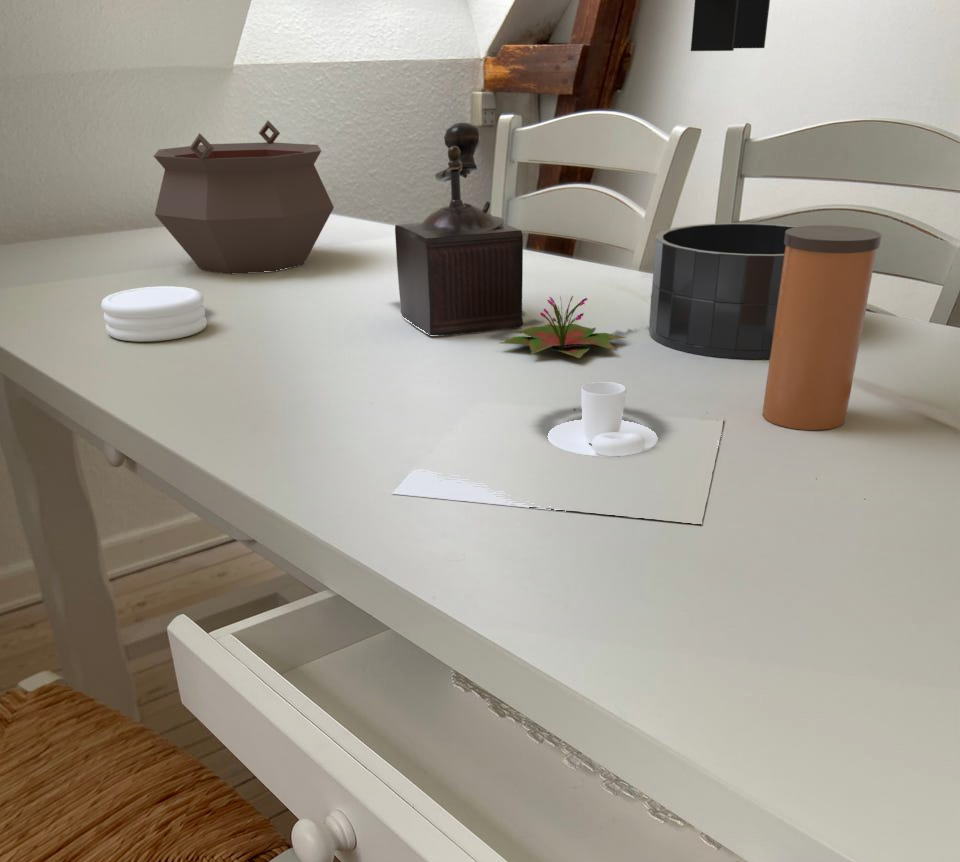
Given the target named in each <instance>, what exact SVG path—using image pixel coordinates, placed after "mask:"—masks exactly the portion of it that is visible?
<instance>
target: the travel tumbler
mask: <svg viewBox="0 0 960 862" xmlns="http://www.w3.org/2000/svg"><path fill="white" fill-rule="evenodd" d="M881 240H882V233H880V232H879V231H877V230H873V229H868V228H863V227H857V226H845V225H828V224H827V225H824V224H823V225H822V224H821V225H801V226H800V227H795V228H790V229H788V230H786V232H785V237H784V244H785V245H786V246H785V253H784V260H783V267H782V275H781V282H780V289H779V296H778V304H777V311H776V318H775V325H774V332H773V340H772V347H771V354H770V359H769V361H768V369H767V377H766V384H765V385H766V386H765V390H764V392H765V393H764V399H763V406H762V417H763V418H764V419H765V420H766V421H768V422H769V423H771V424H773V425H776V426H779V427H782V428H787V429H793V430H802V431H825V430H831V429H832V430H833V429H836V428H838V427H841V426H842V425H844V424H845V422H846V418H847V413H848V409H849V403H850V397H851V393H852V387H853V380H854V375H855V371H856V364H857V359H858V353H859V348H860V343H861V338H862V332H863V326H864V320H865V315H866V310H867V305H868V300H869V299H868V298H869V293H870V288H871V283H872V278H873V277H872V276H873V272H874V266H875V262H876V261H875V260H876V254H877V251H878V249H879V248H880V245H881V242H882V241H881Z"/></svg>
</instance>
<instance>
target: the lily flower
mask: <svg viewBox="0 0 960 862" xmlns="http://www.w3.org/2000/svg"><path fill="white" fill-rule="evenodd" d="M573 297H574V295H572V296H571V297H570V299H569V302H568V305H567V308H566V311H565V314H564V317H563V316H562V313H560V312H561V311H560V309H563V303H562V296H561V295H559V299H560V304H561V305H560V306H561V308H560V307H559V305H558V306H557V304H556V301H555V300H554V299H553V298H552V296H549V297H548V298H549V299H546V302H547V303H548V304H549V305H550V306H551V307H552V308H553V311H554V314H555V317H556V318H555V317H552V316H551V314H550V313H549V311H548V310H547V309H546V308H543V312H540V313H539V315H540V316H541V317H543V318H544V319H546V320H547V321H548V322H549V323H548V324H545V325H541V326H531V327H527V328H524V329H521V330H518V331H514V332H511V333H512V334H523V335H524V336H523V335H521V336H519V335H518V336H512V337H510V338H507V339H506V340H504V341H500V344H504V345H505V344H506V345H507V344H509V345H523V346H529V349H530V354H529V356H532V355H534V354H536V353H539V352H541V351H543V350H546V349H549V348H551V350H553V351H556V352H561V353H564V354H567V355H568V356H569V355H570V356H573V357H575V358H577V359H580V358H581V357H582V356H583V355H584V354H586V353H587V352H588V351H589V350H590V347H589V346H586V345H594V346H598V347H600V348H601V347H602V348H605V349H609V350H612V351H618V350H617V349H616V348H615V347H614V346H613V344H611V342H610V341H612V340H619V339H626V338H627V336H621V335H615V334H612V333H608V332H595V331H596V329H597V327H592V328H590V327H586V326H582V325H579V324H576V323H574V322H576V321H580V320H582V317H583V316H584V312H582V313H580V314H578V315H576V317H575V318H573V319H572V317H573V315H574V313H575V311H576V310H577V309H578V307H582V306H583V305H585V302H586V301H588V297H586V298H583V299H581V301H580V302H579V303H577V304H576V305H575V306H574V307H573V308H572V309H571V311H569V309H570V306H571V305H570V304H571V303H572V301H573ZM547 315H548V317H549V318H548V317H547ZM555 322H556V323H557V324H556V323H555ZM525 335H526V336H525Z"/></svg>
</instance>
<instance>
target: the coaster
mask: <svg viewBox="0 0 960 862" xmlns="http://www.w3.org/2000/svg"><path fill="white" fill-rule="evenodd" d="M204 301H205V300H204V296H203V294H202V293H201V292H200V291H198V290H197V289H195V288H190V287H184V286H174V285H173V286H169V285H167V286H166V285H164V286H163V285H162V286H147V287H146V286H145V287H136V288H130V289H125V290H121V291H117V292H114V293H112V294H108V295H106V296H105V297H104V298H103V299H102V301H101V305H100V307H101V309H102V311H103V320H104V321H105V330H106V332H107V334H108V335H109V336H110V337H112V338H113V339H116V340H118V341H119V340H120V341H125V342H140V343H143V342H146V343H147V342H148V343H149V342H163V341H164V342H165V341H170V340H171V341H172V340H176V339H177V340H178V339H182V338H186V337H190V336H193V335H196V334H198V333H200V332H202V331H203V330H204V329H205V328H206V327H207V324H208V323H207V322H208V319H207V318H206V316H205V314H206V308H205V305H203V304H204Z"/></svg>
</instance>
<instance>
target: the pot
mask: <svg viewBox="0 0 960 862" xmlns="http://www.w3.org/2000/svg"><path fill="white" fill-rule="evenodd" d="M795 227H801V226H799V225H790V224H780V223H779V224H777V223H776V224H775V223H759V222H756V223H754V222H724V223H723V222H721V223H720V222H719V223H702V224H690V225H684V226H677V227H672V228H669V229H665V230H662V231H660V232H658V233H657V234H656V235H655V241H654V252H653V254H654V255H653V265H652V266H653V268H652V280H651V281H652V283H651V294H650V305H649V307H650V308H649V321H648V322H649V323H648V325H649V326H648V334H649V336H650V337H651V339H653V340H654V341H655V342H656V343H658V344H660V345H663V346H665V347H668V348H671V349H674V350H677V351H681V352H685V353H688V354H693V355H694V354H695V355H700V356H706V357H713V358H723V359H724V358H726V359H735V360H736V359H737V360H770V354H771V347H772V340H773V332H774V325H775V318H776V311H777V304H778V296H779V289H780V282H781V275H782V267H783V260H784V253H785V246H786V245H785V244H784V237H785V232H786V230H788V229H790V228H795Z"/></svg>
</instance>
